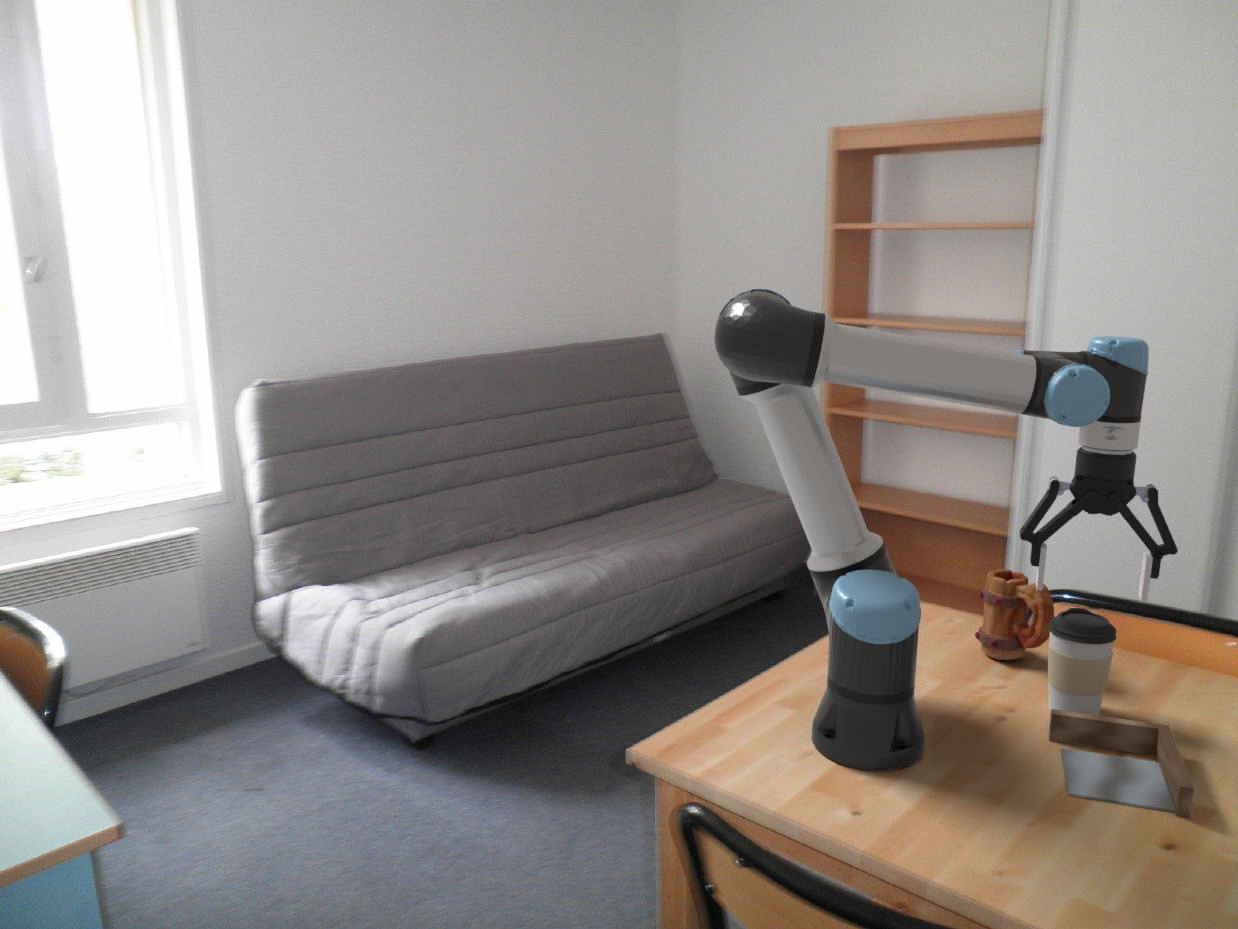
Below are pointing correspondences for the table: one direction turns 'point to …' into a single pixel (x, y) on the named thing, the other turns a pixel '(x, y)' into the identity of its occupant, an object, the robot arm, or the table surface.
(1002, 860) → the table surface
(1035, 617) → the mug
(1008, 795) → the table surface
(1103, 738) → the arena
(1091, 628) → the coffee cup
